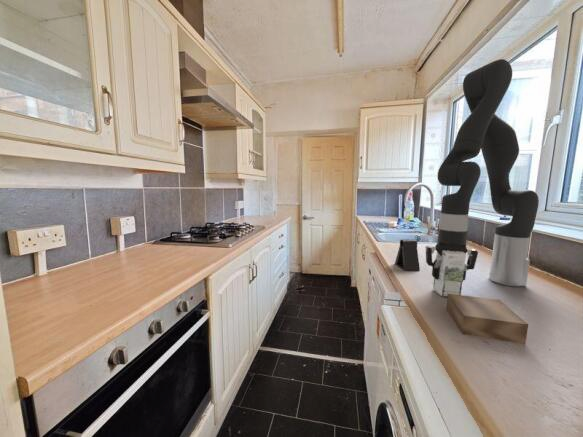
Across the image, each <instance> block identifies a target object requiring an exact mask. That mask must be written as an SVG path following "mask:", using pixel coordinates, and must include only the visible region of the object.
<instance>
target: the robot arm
mask: <svg viewBox="0 0 583 437" xmlns="http://www.w3.org/2000/svg"><path fill="white" fill-rule="evenodd" d="M512 79H513V68H512V65H511V64H510V62H509V61H508V60H507V59H504V58H500V59H497V60H494V61H491V62H490V63H488V64H485V65H483V66H480V67H479V68H477V69H474V70H473V71H470V72H469V73H467V74H466V75H465V76H464V78H463V81H462V91H463V94H464V99H465V101H466V103H467V106H468V109H469V112H470V114H469V115H468V117H466V119H465V120H464V122H463V123H462V124H461V126H460V128H459V129H458V132H457V134H456V137H455V140H454V142H453V146H452V149H451V150H450V151H449V153H448V154H447V156H446V157H445V159H444V160H443V161H442V162H441V164H440V166H439V168H438V171H437V181H438V183H439V184H440V185H442V186H445V187H459V188H458V190H457V191H456V192H454V193H449V194H448V193H447V194H445V195H443V196H442V199H441V208H440V216H439V221H438V230H437V231H438V233H437V242H436V245H434V246H430V245H426V246H425V263H426V265H427V266H429V267H432V270H431V275H432V277H433V279H434V278H435V279H437V280H438V274H439V268H438V267H439V266H440V264H441V263H442V259H443V255H442V251H443V250H446V251H449V252H450V251H455V252H459V251H460V252H464V253H465V254H466V253H467V254H466V255H467V256H468V257H467V261H466V264H465V265H464V273H463V281H462V283H463V282H464V281H465V280H466V278H467V277H466V276H467V271H469V270H474V269H475V266H476V263H477V258H478V253H479V251H478V250H476V249H474V248H467V240H468V230H469V212H470V204H471V203H470V202H471V199H472V197H473V193H474V191H475V189H476V187H477V185H478V182H479V180H480V177H481V171H482V170H481V167H480V165H479V164H478V163H477V162H475V161H472V160H471V159H474V158H477V157H478V156H479V154H480V152H481V153H482V157H483V161H484V163H485V167H486V174H487V177H488V182H489V190H490V198H491V205H492V208H493V210H494V211H495V213H497V214H498V215H502V216H510V217H511V220H510V222H508V223H505V224H500V225H497V226H495V231H494V238H493V247H492V256H491V262H490V271H489V278H488V279H489V280H490V281H491V282H494V283H496V284H501V285H502V286H503V285H504V286H509V287H527V284H528V283H527V282H528V274H529V268H530V262H531V261H530V259H529V258H528V254H529V248H530V247H529V246H530V240H531V234H532V231H533V229H534V228H535V227H534V226H535V222H536V217H537V213H538V211H539V210H538V209H539V204H540V203H539V195H538V194H537V192H535V191H534V190H531V189H512V188H511V184H510V174H511V170H512V168H513V167H514V165H515V163H516V161H517V160H518V157H519V154H520V145H519V141H518V138H517V137H518V136H517V132H516V130H515V129H514V128H513V127H512V126H511V125H510V124H509V123H507V122H506V121H505V120H503V119H502V118H500V117H499V116H498V115H497V114H496V112H497V111H498V109H499V106H500V105H501V102H502V101H503V99H504V97H505V96H506V93H507V92H508V89H509V87H510V85H511V82H512ZM468 160H469V161H468ZM470 160H471V161H470ZM435 251H436V253H437V252H438V254H439V255H440V256H441V257H440V258H438V256H437V255H436V256H437V257H435V259H434V260H433V254H434V253H435Z"/></svg>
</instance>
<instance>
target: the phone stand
mask: <svg viewBox="0 0 583 437" xmlns="http://www.w3.org/2000/svg"><path fill="white" fill-rule="evenodd" d="M419 261H420V260H419V253H418V240H417V239H400V240H399V247H398V251H397V255H396V258H395V262H394V265H395V266H397V267H399V268H400V269H402V270H403V271H405V272H420V269H421V268H420V262H419Z"/></svg>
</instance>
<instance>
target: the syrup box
mask: <svg viewBox="0 0 583 437" xmlns="http://www.w3.org/2000/svg"><path fill="white" fill-rule="evenodd" d="M442 255H443V259H442V263H441V264H440V266H439V267H438V268H439V274H438V280H437V279H435V278H434V277H433V288H432V289H433V290H434V291H435V292H436V293H437V294H438V295H440V296H441V297H445V298H447V297H448V294H455V295H462V289H463V288H462V287H463V282H464V280H463V273H464V265H465V263H466V257H467V256H466V255H467V254H466V253H464V252H460V251H459V252H455V251H450V252H449V251H446V250H443V251H442ZM437 256H438V258H440V257H441V256H440V255H439V254H438V252H437V251H436V257H437ZM436 257H435V258H436ZM462 281H463V282H462Z"/></svg>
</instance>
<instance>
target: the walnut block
mask: <svg viewBox="0 0 583 437" xmlns="http://www.w3.org/2000/svg"><path fill="white" fill-rule="evenodd" d="M446 298H447V300H446V308H445V310H446V311H447V313H448V314H449V316H450V318H451V319H452V321H453V322H454V324H455V325H456V326H457V328H458V329H459V331H460V333H461V334H462V335H466V336H472V337H478V338H485V339H491V340H498V341H502V342H503V341H505V342H510V343H515V344H517V343H518V344H524V345H526V342H527V336H528V335H527V334H528V329H529V324H528V323H527V322H526V321H525V320H524V319H522V318H521V316H519V315H518V314H517V313H516V312H515V311H514V310H512V308H510V307H508V305H507V304H505V303H504V302H503V301H502V300H500V299H496V298H487V297H479V296H473V295H472V296H470V295H463V294H461V295H455V294H448V297H446Z"/></svg>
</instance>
